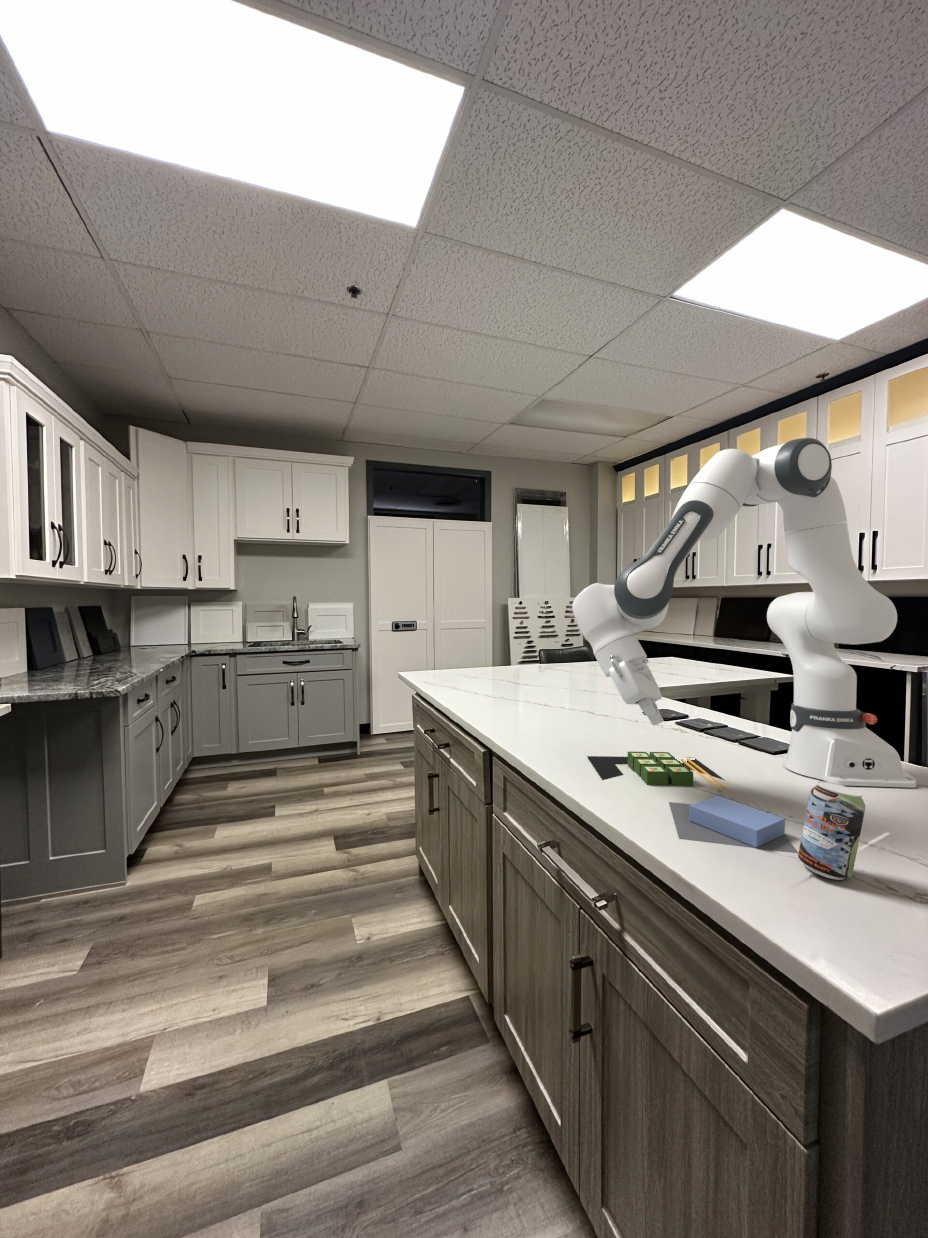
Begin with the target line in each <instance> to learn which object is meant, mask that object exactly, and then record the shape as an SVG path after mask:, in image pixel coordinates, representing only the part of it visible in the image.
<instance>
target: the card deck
mask: <svg viewBox="0 0 928 1238" xmlns="http://www.w3.org/2000/svg"><path fill="white" fill-rule="evenodd" d="M767 812H768V811H764V810H760V809H757V808H755V807H752V806H749V805H746V804H742V803H739V802H737V801H734V800H731V799H728V798H725V797H722V796H721V795H716V796H712V797H710V798H706V799H704V800H701V801H698V802H695V803H692V805H689V821H692V822H694V823H697V824H699V825H702V826H704V827H707V828H709V829H712V830H714V831H717V832H719V833H721V834H724V835H726V836H729V837H731V838H734V839H736V840H739V841H741V842H744V843H746V844H749V845H751V846H754V847H759V846H761V845H763V844H765V843H767V842H770V841H772V840H774V839H776V838H778V837H781V836H783V835H786V833H785V830H786V819H785V818H784V817H781V816H778V815H775V814H772V813H769V812H768V813H767Z"/></svg>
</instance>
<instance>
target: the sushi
mask: <svg viewBox="0 0 928 1238" xmlns="http://www.w3.org/2000/svg"><path fill="white" fill-rule="evenodd" d="M587 757H588V758H587ZM675 757H676V756H674V755H672V754H671V753H670V752H668V751H649V753H648V752H647V751H627V756H611V755H610V756H604V755H603V756H601V755H600V756H599V755H597V756H596V755H595V756H594V755H587V756H586V758H587V760H588V761H589V763H590V764H591V765H592V767H593V768H594V769H595V772H596V773H597V775H598V776H599V777H600V780H602V781H605V780H608V779H613V778H616V777H621V776H624V773H623V772H622V771H621V770H620V768H619V767H618V766H617V765H627V766H628V767H629V769H631V771H632V772H633V773H636V775H638V777H639V778H640V779H641V780H642V781H643V782H644V784H645V785H646V786H669V784H670V785H671V786H673V787H674V786H675V787H676V786H678V787H679V786H680V787H694V772H696V774H698V775H699V776H700V777H702V778H703V779H704V780H705V781H707V782H708V783H709V784H710V785H711V786H713V787H714V788H716V789H717V790H720V787H719V786H721V787H722V788H723V789H725V790H728V786H725V785H724V784H723V783H722V782H720V781H719V780H723V781H726V779H724V778H723V777H722V776H720V775H719V774H717V773H716V772H715V771H714V770H712V769H711V768H710V767H708V766H706V765H705V764H704V763H702V762H701V761H699V760H698V759H697V758H695V760H690V759H687V762H686V761H684V760H683V759H681V761H682V762H683V763H681V762H680V761H678V760H677V759H675ZM693 771H694V772H693ZM705 775H706V776H708V777H709V778H710V779H711V780H710V779H709V778H707V777H706V776H705ZM718 779H719V780H718ZM712 780H713V781H714V782H715V783H717V784H718V785H719V786H718V785H717V784H715V783H714V782H713V781H712Z"/></svg>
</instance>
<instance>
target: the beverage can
mask: <svg viewBox="0 0 928 1238" xmlns="http://www.w3.org/2000/svg"><path fill="white" fill-rule="evenodd" d="M816 783H817V784H815V785H814V786H813V787H812V788H811V789H810V791H809V797H808V802H807V807H806V812H805V817H804V821H803V827H802V833H801V838H800V844H799V848H798V849H799V850H798V853H797V856H798V859H799V860H800V861H801V862H802V863H803V865H804V867H806V868H807V869H808V870H810V871H811V872H813V873H815V874H817V875H820V876H822V877H825V878H827V879H832V880H838V881H842V880H844V879H850V878H852V877H853V873H854V867H855V862H856V859H857V858H856V857H857V853H858V846H859V843H860V836H861V831H862V829H863V828H862V826H863V823H864V817H865V811H866V804H865V802H864V800H863V798H862V797H863V794H862V793H861V792H860V791H858V790H857V789H854V788H850V787H848V786H847V785H839V784H835V783H831V782H827V781H824V780H822V781H821V780H819V781H817V782H816Z"/></svg>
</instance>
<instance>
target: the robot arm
mask: <svg viewBox="0 0 928 1238" xmlns="http://www.w3.org/2000/svg"><path fill="white" fill-rule="evenodd" d="M832 462H833V461H832V456H831V454H830V451H829V450H828V448H827V447H826V446H825V445H824V443H823V442H821V441H820V440H818V439H816V438H812V437H804V438H796V439H791V440H789V441H787V442H784V443H780V444H777V445H773V446H770V447H768V448H765V449H763V450H761V451H759V452H757V453H755V454H753V455H751V454H750V453H749V452H746V451H744V450H743V449H738V448H725V449H722V450H720V451H717V452H716V453H715V454H714V455H713V456H712V457H711V458H710V459H709V460H708V461H707V462H706V463H704V465H703V466H702V468H700V470H699V471H698V472H697V473H696V475H695V476H694V477H693V478H692V480H691V482H689V484H688V486H687V487H686V489H685V490H684V491H683V493H682V495H681V497H680V499H679V500H678V502H677V504H676V505H675V509H674V511H673V513H672V517H671V519H670V520H669V522H668V523H667V524H666V526H665V527H664V529H663V530H662V531H661V533H660V534H659V535H658V537H657V538H656V539H655V541H654V542H653V544H652V545H651V546H650V548H649V549H648V550H647V552H646V553H645V554H643V555H642V556H641V557H640V558H639V559H637V560H636V561H634V562H632V563H630V564H629V565H627V566H626V567H625V568H624V569H623V570H622V571H621V572H620V573H619V574H618V576H617V578H616V580H615V582H614V584H603V583H599V582H595V583H592V584H589V585H588V586H586V587H584V588H583V589H581V590H580V592H579V593H577V595H576V597H575V598H574V599H573V602H572V607H571V608H572V613H573V616H574V619H575V621H576V623H577V625H578V627H579V629H580V631H581V633H582V635H583V637H584V639H585V640H586V641H587V642H588V643H589V644H590V646H591V648H592V651H593V655H594V657H595V660H596V661H597V663H598V664H599V667H600V668H601V671H602V672H603V674H604V677H607V678H608V677H609V678H610V677H611V679H612V681H613V683H614V685H615V687H616V689H617V691H618V693H619V695H620V697H621V699H622V700H623V702H624V703H625V704H626V705H638V706H639V708H640V709H641V711H642V712H643V713H644V715H645V716H646V717H647V719H648V720H649V721H650V723H651V725H653V726H658V725H660V724H662V723H663V722H664V718H663V716H662V715H661V713H660V711H659V708H658V705H657V703H656V702H658V701H660V700H661V699H662V698H663V697H662V692H661V691H660V688H659V686H658V684H657V682H656V679H655V677H654V676H653V673H652V671H651V669H650V667H649V665H648V664H649V660H648V658H647V657H648V655H647V654H646V652H645V650H644V648H643V647H642V645H641V643H640V641H639V640H638V638H637V636H636V635H635V634H638V633H642V632H645V631H648V630H651V629H653V628H655V627H657V626H659V625H660V624H661V623H662V622H663V621H664V619H665V618H666V616H667V613H668V609H669V605H670V604H669V603H670V600H671V598H672V595H673V591H674V582H675V581H674V580H675V577H676V574H677V572H678V570H679V569H680V567H682V564H683V563H684V562H685V560H687V559H686V558H687V557H689V554H690V553H691V551H693V549H694V547H695V546H696V545H697V544H698V543H699V542H700V541H702V542H703V541H710V540H714V539H717V538H718V537H719V536H720V535H721V534H722V533H723V532H724V531H725V530H726V529H727V527H729V525H730V524H731V523H732V522H733V520H734V519H735V517H736V516H737V515H738V513H739V511H740V510H741V508H742V507H757V506H758V505H766V504H772V503H777V504H778V506H779V507H780V508H781V510H782V515H783V516H782V517H783V518H782V519H783V520H782V521H783V530H784V539H785V547H786V554H787V556H786V557H787V563H788V566H789V568H790V570H791V571H792V572H793V573H795V574H796V575H799V576H800V577H802V578H803V579H805V580H806V582H807V583H808V584H809V586H810V587H811V589H812V591H803V592H802V591H799V592H792V593H789V594H785V595H781V596H778V597H776V598H775V599H773V601H771V602H770V603H769V605H768V608H767V612H766V620H767V621H766V622H767V625H768V627H769V628H770V630H771V631H772V633H774V634H775V635H776V636H777V637H778V639H780V640H781V642H782V643H783V645H784V647H785V649H786V651H787V654H788V656H789V658H790V659H789V660H790V661H791V665H792V666H791V667H792V671H793V672H792V673H793V675H792V676H793V702H792V703H791V706H790V714H789V715H790V717H789V718H790V719H789V723H790V728H791V736H790V739H789V740H790V741H789V744H788V745H789V746H788V749H787V753H786V757H785V760H784V762H783V766H784V767H785V768H786V769H787V770H790V771H791V772H793V773H796V774H799V775H802V776H806V777H809V778H814V779H818V780H820V781H821V780H822V781H825V782H831V783H835V784H839V785H843V786H846V787H848V786H852V787H853V786H854V787H856V786H857V787H882V788H883V787H887V788H910V789H911V788H913V789H914V788H917V786H918V785H917V780H916V778H915V777H914V776H912V774H910V773H909V772H906V771H904V770H903V767H902V762H901V760H902V759H901V757H900V755H899V753H898V752H897V750H896V749H895V748H894V747H893V746H892V745H890V744H889V743H888V742H886V741H885V740H884V739H882V738H881V737H879V736H878V735H877V734H876V733H874V732H873V731H872V730H870V729H868V728H867V726H866V725H867V724H868V725H875V724H876V723H877V722H878V717H877V716H876V715H875V714H872V713H869V712H863V711H861V710H860V709H858V708H857V689H858V688H857V687H858V686H857V683H858V682H857V681H858V679H857V678H858V676H857V673H856V671H855V670H854V668H853V667H852V666H851V665H850V664H848V663H846V662H845V661H843V659H842V658H840V656H839V654H838V653H837V651H836V647H835V644H842V645H863V644H864V645H865V644H872V643H881V642H883V641H884V640H886V639H887V638H889V637H890V636H891V634H892V633H894V631H895V629H896V627H897V623H898V613H897V609H896V606H895V605H894V603H893V602H892V600H891V598H889V597H887V596H886V595H884V594H882V593H880V591H878V590H876V589H875V588H874V587H873V586H872V585H870V583H868V582H867V580H866V579H865V577H863V575H862V573H861V571H860V570H859V568H858V567H857V564H856V562H855V560H854V556H853V552H852V546H851V542H850V541H851V540H850V535H849V533H850V532H849V528H848V527H849V526H848V519H847V513H846V509H845V504H844V501H843V497H842V496H843V495H842V493H841V490H840V487H839V485H838V482H837V481H836V479H835V478H833V477H832V469H833V463H832Z"/></svg>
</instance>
